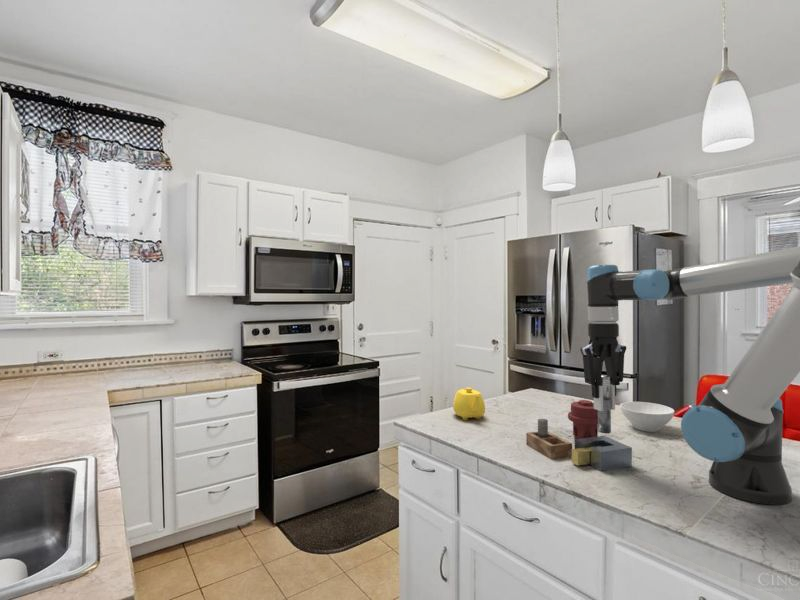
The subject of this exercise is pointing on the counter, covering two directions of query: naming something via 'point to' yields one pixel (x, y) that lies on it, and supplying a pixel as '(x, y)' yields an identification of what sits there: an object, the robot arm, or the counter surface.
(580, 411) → the mechanical component
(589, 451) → the bar
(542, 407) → the counter surface
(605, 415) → the grey cylindrical peg
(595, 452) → the socket block
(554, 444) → the frame
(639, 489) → the counter surface
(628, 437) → the counter surface
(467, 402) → the teapot
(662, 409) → the bowl
